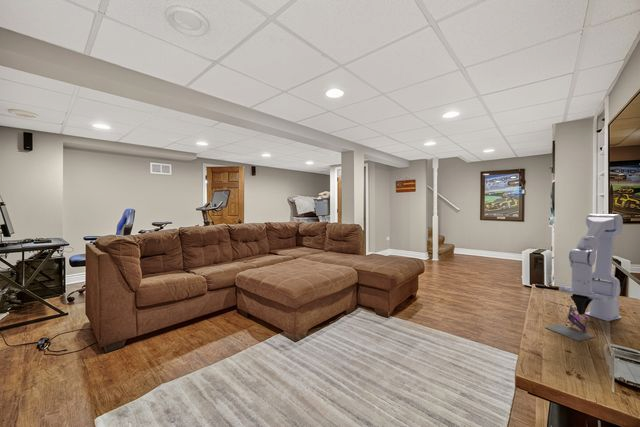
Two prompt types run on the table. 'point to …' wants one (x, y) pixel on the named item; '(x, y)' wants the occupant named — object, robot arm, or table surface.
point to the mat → (570, 332)
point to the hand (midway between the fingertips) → (581, 314)
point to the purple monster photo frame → (576, 319)
